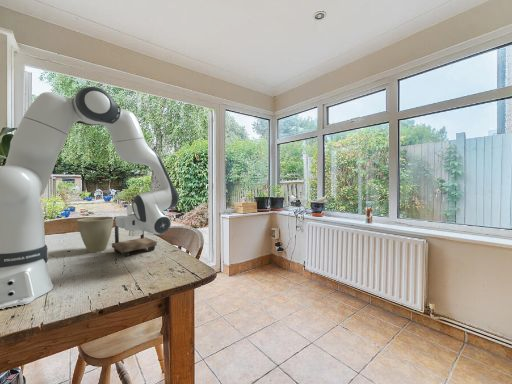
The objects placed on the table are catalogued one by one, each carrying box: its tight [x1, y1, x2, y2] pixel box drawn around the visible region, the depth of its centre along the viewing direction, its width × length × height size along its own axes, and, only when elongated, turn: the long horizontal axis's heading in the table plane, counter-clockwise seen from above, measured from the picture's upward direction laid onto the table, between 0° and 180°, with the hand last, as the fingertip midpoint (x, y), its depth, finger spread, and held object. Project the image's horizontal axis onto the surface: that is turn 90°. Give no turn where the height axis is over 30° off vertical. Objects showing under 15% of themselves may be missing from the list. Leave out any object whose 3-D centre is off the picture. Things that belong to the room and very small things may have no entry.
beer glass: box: [126, 203, 143, 237], centre depth 111 cm, size 7×7×15 cm
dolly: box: [111, 215, 158, 258], centre depth 113 cm, size 16×13×17 cm
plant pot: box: [76, 216, 115, 253], centre depth 115 cm, size 15×15×16 cm
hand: (134, 217), depth 112 cm, fingers closed on beer glass, 7 cm apart
